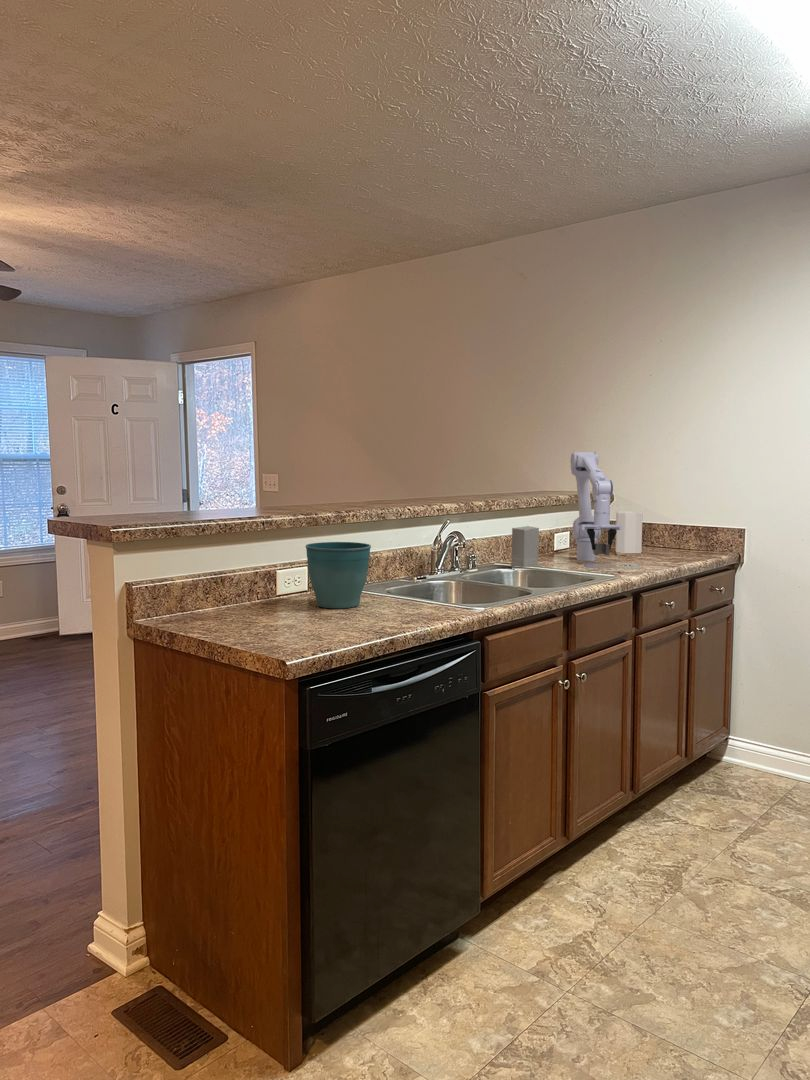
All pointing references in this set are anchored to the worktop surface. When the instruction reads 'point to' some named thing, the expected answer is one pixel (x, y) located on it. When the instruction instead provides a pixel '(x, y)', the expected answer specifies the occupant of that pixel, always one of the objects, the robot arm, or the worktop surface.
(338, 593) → the flower pot
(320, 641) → the worktop surface
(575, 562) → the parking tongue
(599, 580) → the worktop surface
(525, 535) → the skincare box
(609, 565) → the rail board
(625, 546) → the white upright block
